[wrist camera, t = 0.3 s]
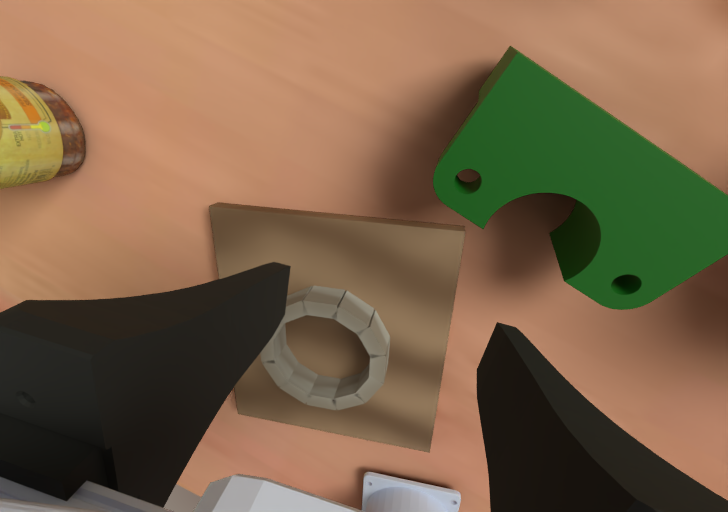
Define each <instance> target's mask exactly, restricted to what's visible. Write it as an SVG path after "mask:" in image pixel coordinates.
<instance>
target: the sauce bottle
mask: <svg viewBox="0 0 728 512" xmlns="http://www.w3.org/2000/svg"><path fill="white" fill-rule="evenodd" d="M84 145H85V140H84V133H83V129H82V127H81V125H80V123H79V120H78V119H77V117H76V116H75V114H74V112H73V111H72V109H71V108H70V107H69V106H68V104H67V103H66V102H65V101H64V100H63V99H62V98H61V97H60V96H59V95H58V94H56V93H55V92H54V91H53V90H51V89H49V88H47V87H46V86H44V85H42V84H37V83H34V82H28V81H19V80H16V79H13V78H10V77H4V76H0V189H3V188H8V187H14V186H20V185H26V184H31V183H37V182H43V181H47V180H50V179H52V178H53V177H58V176H62V175H66V174H69V173H71V172H73V171H75V170H76V169H78V168H79V166H80V164H81V163H82V162H83V158H84V154H85V146H84Z"/></svg>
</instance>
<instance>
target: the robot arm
mask: <svg viewBox="0 0 728 512" xmlns="http://www.w3.org/2000/svg"><path fill="white" fill-rule="evenodd" d="M290 268H291V266H288V265H285V264H281V263H277V262H271V263H267V264H264V265H261V266H258V267H255V268H252V269H249V270H246V271H243V272H240V273H237V274H234V275H231V276H228V277H225V278H222V279H218V280H215V281H211V282H208V283H205V284H201V285H197V286H193V287H189V288H184V289H179V290H174V291H169V292H164V293H157V294H149V295H142V296H134V297H125V298H113V299H97V300H26V301H24V302H22V303H20V304H18V305H15V306H13V307H11V308H9V309H7V310H5V311H3V312H1V313H0V512H173V511H170V510H168V509H165V508H163V507H164V505H165V504H166V502H167V500H168V497H169V496H170V494H171V492H172V490H173V488H174V486H175V485H176V483H177V481H178V479H179V478H180V476H181V474H182V472H183V470H184V469H185V467H186V465H187V463H188V462H189V460H190V458H191V456H192V454H193V453H194V451H195V449H196V447H197V446H198V444H199V442H200V441H201V439H202V437H203V436H204V434H205V432H206V430H207V429H208V427H209V425H210V424H211V422H212V420H213V419H214V417H215V415H216V414H217V412H218V411H219V409H220V407H221V406H222V404H223V403H224V401H225V399H226V398H227V396H228V395H229V393H230V392H231V390H232V389H233V388H234V386H235V385H236V383H237V382H238V381H239V380H240V378H241V377H242V376H243V374H244V373H245V372H246V371H247V369H248V368H249V367H250V365H251V364H252V363H253V362H254V360H255V359H256V358H257V356H258V355H259V354H260V352H261V351H262V350H263V349H264V347H265V346H266V345H267V343H268V342H269V341H270V339H271V338H272V337H273V335H274V333H275V331H276V330H277V328H278V326H279V324H280V323H281V321H282V319H283V317H284V315H285V310H286V301H287V293H288V284H289V276H290ZM477 400H478V407H479V414H480V420H481V427H482V433H483V439H484V445H485V452H486V458H487V465H488V474H489V487H490V506H491V512H728V500H726V499H724V498H722V497H721V496H719V495H717V494H716V493H714V492H712V491H711V490H709V489H708V488H706V487H705V486H703V485H701V484H700V483H698V482H697V481H695V480H694V479H692V478H691V477H689V476H688V475H686V474H684V473H683V472H681V471H680V470H678V469H677V468H675V467H674V466H672V465H671V464H669V463H668V462H667V461H665V460H664V459H662V458H661V457H659V456H658V455H656V454H655V453H654V452H652V451H651V450H650V449H648V448H647V447H646V446H644V445H643V444H641V443H640V442H639V441H637V440H636V439H635V438H633V437H632V436H631V435H629V434H628V433H627V432H625V431H624V430H623V429H622V428H620V427H619V426H618V425H616V424H615V423H614V422H613V421H612V420H610V419H609V418H608V417H607V416H606V415H604V414H603V413H602V412H601V411H600V410H599V409H597V408H596V407H595V406H594V405H593V404H592V403H590V402H589V401H588V400H587V399H586V398H585V397H584V396H583V395H582V394H581V393H580V392H579V391H578V390H576V389H575V388H574V387H573V386H572V385H571V384H570V383H569V382H568V381H567V380H566V379H565V378H564V377H563V376H562V375H561V374H560V373H559V372H558V371H557V370H556V369H555V368H554V367H553V366H552V364H551V363H550V362H549V361H548V360H547V359H546V358H545V357H544V356H543V355H542V354H541V353H540V352H539V351H538V349H537V348H536V347H535V346H534V345H533V344H532V343H531V342H530V341H529V340H528V339H527V338H526V337H525V336H524V335H523V333H521V332H520V331H519V330H518V329H517V328H516V327H513V326H509V325H505V324H502V323H498V322H497V324H496V326H495V329H494V331H493V333H492V336H491V338H490V340H489V343H488V345H487V347H486V350H485V352H484V354H483V357H482V359H481V361H480V364H479V366H478V368H477ZM460 501H461V494H460V493H459V492H458V491H456V490H452V489H447V488H443V487H438V486H434V485H429V484H424V483H420V482H415V481H411V480H406V479H401V478H397V477H392V476H387V475H383V474H378V473H374V472H366V473H365V474H364V479H363V496H362V510H359V509H356V508H353V507H350V506H347V505H344V504H341V503H338V502H336V501H333V500H330V499H327V498H324V497H321V496H318V495H315V494H312V493H309V492H306V491H303V490H300V489H297V488H294V487H291V486H288V485H285V484H282V483H280V482H277V481H274V480H271V479H268V478H263V477H256V476H250V475H243V474H236V475H232V476H229V477H226V478H223V479H220V480H217V481H214V482H211V483H210V484H209V486H208V488H207V489H206V491H205V492H204V494H203V496H202V497H201V499H200V501H199V502H198V504H197V505H196V507H195V509H194V510H193V512H458V510H459V506H460Z"/></svg>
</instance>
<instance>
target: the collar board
mask: <svg viewBox="0 0 728 512" xmlns="http://www.w3.org/2000/svg"><path fill="white" fill-rule="evenodd" d="M209 210H210V217H211V224H212V231H213V239H214V246H215V253H216V260H217V267H218V274H219V279H222V278H225V277H228V276H231V275H234V274H237V273H240V272H243V271H246V270H249V269H252V268H255V267H258V266H261V265H264V264H267V263H271V262H277V263H281V264H285V265H288V266H291V268H290V276H289V284H288V293H287V301H286V310H285V315H284V317H283V319H282V321H281V323H280V324H279V326H278V328H277V330H276V331H275V333H274V335H273V337H272V338H271V339H270V341H269V342H268V343H267V345H266V346H265V347H264V349H263V350H262V351H261V352H260V354H259V355H258V356H257V358H256V359H255V360H254V362H253V363H252V364H251V365H250V367H249V368H248V369H247V371H246V372H245V373H244V374H243V376H242V377H241V378H240V380H239V381H238V382H237V383H236V385H235V386H234V389H235V396H236V403H237V410H238V414H241V415H246V416H251V417H256V418H261V419H265V420H270V421H275V422H280V423H285V424H290V425H295V426H300V427H305V428H310V429H315V430H320V431H325V432H330V433H335V434H340V435H345V436H350V437H355V438H360V439H365V440H370V441H375V442H379V443H384V444H389V445H394V446H399V447H404V448H409V449H414V450H419V451H424V452H429V453H430V447H431V441H432V435H433V429H434V422H435V416H436V410H437V404H438V398H439V392H440V385H441V379H442V373H443V367H444V361H445V355H446V349H447V342H448V336H449V330H450V324H451V318H452V312H453V306H454V299H455V293H456V287H457V281H458V275H459V269H460V262H461V256H462V250H463V244H464V238H465V227H464V226H457V225H446V224H436V223H425V222H415V221H405V220H394V219H384V218H373V217H363V216H353V215H342V214H332V213H321V212H311V211H300V210H290V209H280V208H269V207H259V206H248V205H238V204H228V203H216V204H213V205H211V206H209Z"/></svg>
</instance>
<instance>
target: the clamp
mask: <svg viewBox="0 0 728 512" xmlns="http://www.w3.org/2000/svg"><path fill="white" fill-rule="evenodd" d="M464 169H473V170H475V171H477V172H478V173H479V174H480V177H479V178H478V179H477V180H475V181H473V182H464V181H461V180H460V179H459V178H458V176H457V174H458V173H459V172H460V171H462V170H464ZM433 185H434V190H435V192H436V195H437V196H438V198H439V199H440V200H441V201H442V202H443V203H444V204H445V205H446V206H448V207H450V208H451V209H453V210H454V211H456V212H457V213H459V214H460V215H462V216H463V217H465V218H467V219H468V220H470V221H471V222H473V223H474V224H476V225H477V226H479V227H481V228H482V229H484V227H485V225H486V223H487V221H488V220H489V218H490V217H491V216H492V215H493V214H494V213H495V212H496V211H497V210H498V209H499V208H500V207H502V206H503V205H505V204H506V203H508V202H510V201H512V200H514V199H516V198H519V197H522V196H525V195H529V194H534V193H558V194H563V195H566V196H570V197H572V198H574V199H577V200H576V204H575V207H574V209H573V211H572V213H571V215H570V216H569V217H568V219H567V220H566V221H565V222H564V223H563V224H562V225H561V226H559V227H558V228H557V229H555V230H554V231H552V232H550V233H549V234H550V237H551V241H552V244H553V247H554V250H555V253H556V257H557V260H558V263H559V266H560V269H561V272H562V276H563V279H564V281H565V282H566V283H568V284H569V285H571V286H572V287H574V288H575V289H577V290H579V291H580V292H582V293H583V294H585V295H586V296H588V297H589V298H591V299H593V300H594V301H596V302H597V303H599V304H601V305H602V306H605V307H608V308H612V309H620V310H624V309H633V308H638V307H641V306H644V305H646V304H648V303H650V302H652V301H653V300H655V299H656V298H658V297H660V296H661V295H663V294H664V293H666V292H668V291H669V290H671V289H673V288H674V287H676V286H677V285H679V284H681V283H682V282H684V281H685V280H687V279H689V278H690V277H692V276H693V275H695V274H697V273H698V272H700V271H701V270H703V269H705V268H706V267H708V266H709V265H711V264H713V263H714V262H716V261H718V260H719V259H721V258H722V257H724V256H726V255H727V254H728V195H727V194H725V193H724V192H722V191H721V190H719V189H718V188H717V187H715V186H714V185H712V184H711V183H710V182H708V181H707V180H705V179H704V178H702V177H701V176H700V175H698V174H697V173H695V172H694V171H692V170H691V169H689V168H688V167H687V166H685V165H684V164H682V163H681V162H679V161H678V160H676V159H675V158H673V157H672V156H671V155H669V154H668V153H666V152H665V151H663V150H662V149H660V148H659V147H657V146H656V145H655V144H653V143H652V142H650V141H649V140H647V139H646V138H644V137H643V136H641V135H640V134H638V133H637V132H636V131H634V130H633V129H631V128H630V127H628V126H627V125H625V124H624V123H622V122H621V121H620V120H618V119H617V118H615V117H614V116H612V115H611V114H609V113H608V112H606V111H605V110H604V109H602V108H601V107H599V106H598V105H596V104H595V103H593V102H592V101H590V100H589V99H587V98H586V97H585V96H583V95H582V94H580V93H579V92H577V91H576V90H574V89H573V88H571V87H570V86H569V85H567V84H566V83H564V82H563V81H561V80H560V79H558V78H557V77H555V76H554V75H552V74H551V73H550V72H548V71H547V70H545V69H544V68H542V67H541V66H539V65H538V64H536V63H535V62H534V61H532V60H531V59H529V58H528V57H526V56H525V55H523V54H522V53H520V52H519V51H517V50H516V49H514V48H513V47H511V46H510V47H509V48H508V50H507V51H506V53H505V54H504V55H503V57H502V58H501V60H500V61H499V63H498V64H497V66H496V67H495V68H494V70H493V71H492V73H491V74H490V76H489V77H488V79H487V80H486V82H485V83H484V84H483V86H482V87H481V89H480V90H479V100H478V103H477V104H476V106H475V107H474V109H473V110H472V111H471V113H470V114H469V116H468V117H467V119H466V120H465V121H464V123H463V124H462V126H461V127H460V129H459V130H458V131H457V133H456V134H455V136H454V137H453V139H452V140H451V141H450V143H449V144H448V146H447V147H446V148H445V150H444V151H443V153H442V154H441V156H440V158H439V160H438V163H437V166H436V169H435V172H434V177H433ZM621 275H622V276H621Z"/></svg>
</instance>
